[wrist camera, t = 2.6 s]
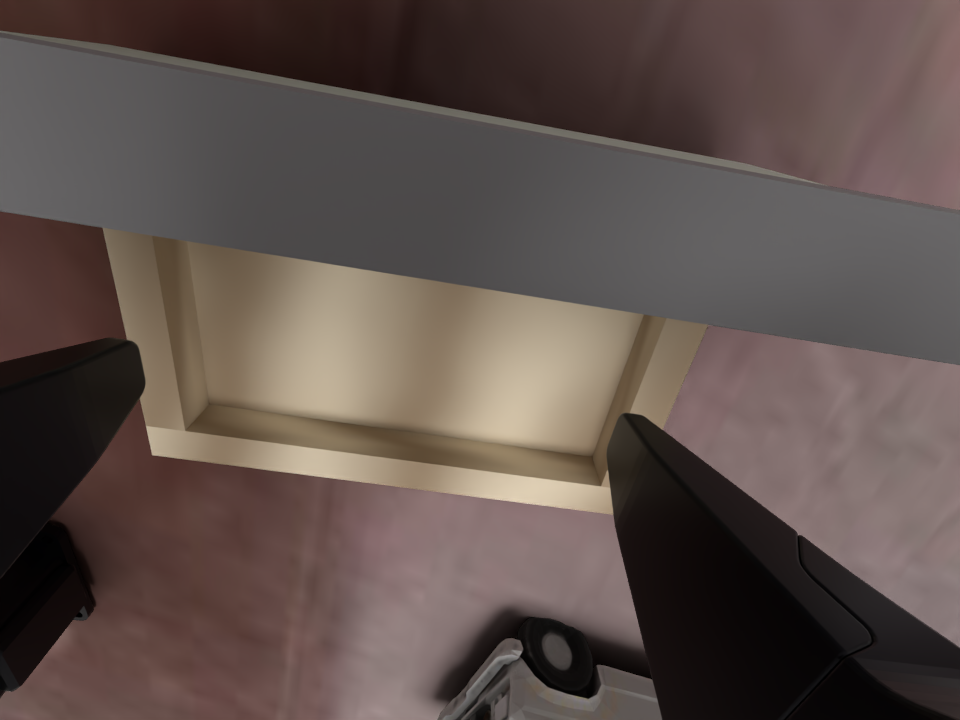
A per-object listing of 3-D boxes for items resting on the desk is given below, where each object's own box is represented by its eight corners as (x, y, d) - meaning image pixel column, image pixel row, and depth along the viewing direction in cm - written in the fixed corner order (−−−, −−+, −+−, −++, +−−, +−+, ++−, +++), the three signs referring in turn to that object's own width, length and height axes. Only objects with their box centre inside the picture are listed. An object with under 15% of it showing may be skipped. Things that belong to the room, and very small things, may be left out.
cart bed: (200, 403, 18) (152, 455, 16) (158, 112, 13) (78, 116, 11) (605, 458, 19) (624, 515, 17) (701, 209, 15) (748, 234, 12)
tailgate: (121, 110, 12) (-458, 137, 5) (108, 34, 11) (-615, -78, 4) (723, 217, 13) (1029, 376, 6) (748, 155, 12) (1137, 246, 5)
